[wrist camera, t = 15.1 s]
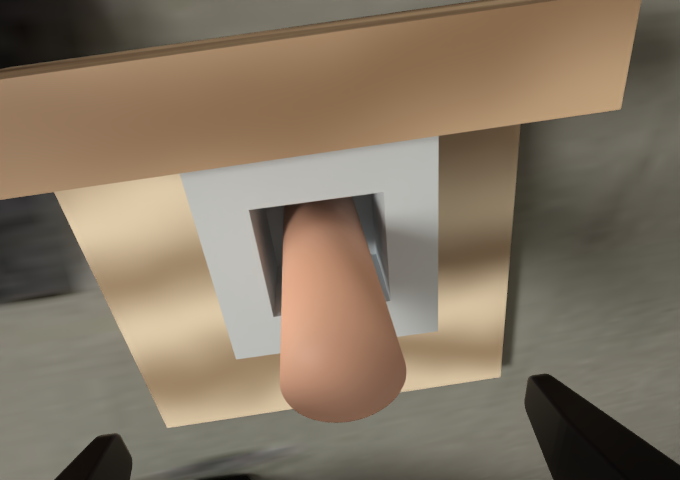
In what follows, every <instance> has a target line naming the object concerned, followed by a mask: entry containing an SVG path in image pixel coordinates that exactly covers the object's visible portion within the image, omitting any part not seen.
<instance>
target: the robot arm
mask: <svg viewBox="0 0 680 480" xmlns="http://www.w3.org/2000/svg"><path fill="white" fill-rule="evenodd" d="M525 409H526V412H527V415H528V417H529V420H530V422H531V425H532V427H533V430H534V433H535V435H536V438H537V440H538V443H539V445H540V448H541V450H542V453H543V455H544V458H545V460H546V463H547V465H548V468H549V470H550V473H551V475H552V477H553V480H680V465H679V464H678V463H676V462H675V461H673V460H672V459H670V458H669V457H668V456H666V455H665V454H663V453H662V452H660V451H659V450H657V449H656V448H655V447H653V446H652V445H650V444H649V443H647V442H646V441H645V440H643V439H642V438H640V437H639V436H637V435H636V434H635V433H633V432H632V431H630V430H629V429H627V428H626V427H624V426H623V425H622V424H620V423H619V422H617V421H616V420H614V419H613V418H612V417H610V416H609V415H607V414H606V413H604V412H603V411H601V410H600V409H599V408H597V407H596V406H594V405H593V404H591V403H590V402H589V401H587V400H586V399H584V398H583V397H581V396H580V395H579V394H577V393H576V392H574V391H573V390H571V389H570V388H568V387H567V386H566V385H564V384H563V383H561V382H560V381H558V380H557V379H556V378H554V377H553V376H551V375H549V374H539V375H532V376H530V377H529V378H528V381H527V388H526V394H525ZM131 471H132V457H131V455H130V453H129V451H128V449H127V447H126V445H125V443H124V441H123V439H122V438H121V436H120V435H119V434H117V433H113V434H106V435H100V436H98V437H96V438H95V439H94V440H93V441H92V442H91V443H90V444H89V445H88V446H87V447H86V448H85V449H84V450H83V451H82V452H81V453H80V454H79V455H78V456H77V457H76V458H75V459H74V460H73V461H72V462H71V463H70V464H69V465H68V466H67V467H66V468H65V469H64V470H63V471H62V472H61V473H60V474H59V475H58V476H57V477H56V479H55V480H130V476H131ZM223 480H250V478H248V477H236V478H230V479H223Z"/></svg>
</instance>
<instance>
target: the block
mask: <svg viewBox="0 0 680 480" xmlns="http://www.w3.org/2000/svg"><path fill="white" fill-rule="evenodd" d="M438 167H439V136H434V137H427V138H420V139H414V140H407V141H400V142H393V143H386V144H379V145H372V146H365V147H359V148H352V149H345V150H338V151H331V152H324V153H317V154H311V155H304V156H297V157H290V158H283V159H276V160H269V161H263V162H256V163H249V164H242V165H235V166H228V167H221V168H214V169H208V170H201V171H194V172H187V173H180V177H181V180H182V183H183V187H184V190H185V193H186V196H187V200H188V203H189V206H190V210H191V213H192V216H193V219H194V223H195V226H196V229H197V233H198V236H199V239H200V242H201V246H202V249H203V252H204V256H205V259H206V262H207V265H208V269H209V272H210V275H211V279H212V282H213V285H214V289H215V292H216V295H217V298H218V302H219V305H220V308H221V312H222V315H223V318H224V321H225V325H226V328H227V331H228V335H229V338H230V341H231V344H232V348H233V351H234V354H235V358H236V359H243V358H250V357H257V356H265V355H272V354H279V353H280V347H281V305H282V262H283V219H284V206H285V205H290V204H298V203H305V202H313V201H320V200H328V199H336V198H343V197H352V199H353V201H354V204H355V207H356V210H357V213H358V216H359V219H360V222H361V226H362V229H363V232H364V235H365V238H366V241H367V244H368V247H369V251H370V254H371V257H372V260H373V263H374V266H375V269H376V272H377V276H378V279H379V282H380V285H381V288H382V291H383V294H384V297H385V301H386V304H387V307H388V310H389V313H390V316H391V319H392V322H393V326H394V329H395V332H396V335H397V337H400V336H408V335H415V334H422V333H429V332H436V331H438Z"/></svg>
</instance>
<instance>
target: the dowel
mask: <svg viewBox="0 0 680 480" xmlns="http://www.w3.org/2000/svg"><path fill="white" fill-rule="evenodd" d="M405 380H406V363H405V360H404V357H403V354H402V351H401V347H400V344H399V341H398V338H397V335H396V332H395V329H394V326H393V322H392V319H391V316H390V313H389V310H388V307H387V304H386V301H385V297H384V294H383V291H382V288H381V285H380V282H379V279H378V276H377V272H376V269H375V266H374V263H373V260H372V257H371V254H370V251H369V247H368V244H367V241H366V238H365V235H364V232H363V229H362V226H361V222H360V219H359V216H358V213H357V210H356V207H355V204H354V201H353V199H352V197H343V198H336V199H328V200H320V201H313V202H305V203H298V204H290V205H285V206H284V219H283V262H282V305H281V347H280V389H281V393H282V395H283V397H284V399H285V400H286V402H287V403H288V404H289V405H290V407H292V408H293V409H294V410H295V411H297V412H298V413H300V414H301V415H303V416H306V417H308V418H311V419H314V420H318V421H322V422H333V423H339V422H349V421H355V420H359V419H362V418H365V417H368V416H370V415H373V414H375V413H377V412H379V411H380V410H382V409H383V408H385V407H386V406H388V405H389V404H390V403H391V402H392V401H393V400H394V399H395V398H396V397H397V396H398V394H399V393H400V391H401V390H402V388H403V386H404V383H405Z"/></svg>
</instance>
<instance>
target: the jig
mask: <svg viewBox="0 0 680 480" xmlns="http://www.w3.org/2000/svg"><path fill="white" fill-rule="evenodd" d="M640 5H641V0H480V1H473V2H466V3H459V4H452V5H445V6H438V7H431V8H424V9H417V10H409V11H402V12H395V13H388V14H381V15H374V16H367V17H360V18H353V19H346V20H339V21H332V22H325V23H318V24H311V25H304V26H297V27H289V28H282V29H275V30H268V31H261V32H254V33H247V34H240V35H233V36H226V37H219V38H212V39H205V40H198V41H191V42H184V43H177V44H169V45H162V46H155V47H148V48H141V49H134V50H127V51H120V52H113V53H106V54H99V55H92V56H85V57H78V58H71V59H64V60H57V61H49V62H42V63H35V64H28V65H21V66H14V67H9V68H4V69H0V200H2V199H8V198H15V197H22V196H29V195H36V194H43V193H50V192H54V193H55V195H56V197H57V199H58V201H59V203H60V205H61V207H62V210H63V212H64V214H65V216H66V218H67V220H68V222H69V224H70V226H71V228H72V230H73V232H74V234H75V237H76V239H77V241H78V243H79V245H80V247H81V249H82V251H83V253H84V255H85V257H86V259H87V262H88V264H89V266H90V268H91V270H92V272H93V274H94V276H95V278H96V280H97V282H98V284H99V287H100V289H101V291H102V293H103V295H104V297H105V299H106V301H107V303H108V305H109V307H110V309H111V311H112V314H113V316H114V318H115V320H116V322H117V324H118V326H119V328H120V330H121V332H122V334H123V336H124V339H125V341H126V343H127V345H128V347H129V349H130V351H131V353H132V355H133V357H134V359H135V361H136V363H137V366H138V368H139V370H140V372H141V374H142V376H143V378H144V380H145V382H146V384H147V386H148V388H149V391H150V393H151V395H152V397H153V399H154V401H155V403H156V405H157V407H158V409H159V411H160V413H161V416H162V418H163V420H164V422H165V424H166V426H167V428H171V427H177V426H184V425H190V424H197V423H203V422H210V421H216V420H223V419H229V418H236V417H242V416H249V415H255V414H262V413H268V412H275V411H282V410H288V409H293V408H292V407H290V405H289V404H288V403H287V402H286V400H285V399H284V397H283V395H282V393H281V389H280V353H279V354H272V355H265V356H257V357H250V358H243V359H236V358H235V354H234V351H233V348H232V344H231V341H230V338H229V335H228V331H227V328H226V325H225V321H224V318H223V315H222V312H221V308H220V305H219V302H218V298H217V295H216V292H215V289H214V285H213V282H212V279H211V275H210V272H209V269H208V265H207V262H206V259H205V256H204V252H203V249H202V246H201V242H200V239H199V236H198V233H197V229H196V226H195V223H194V219H193V216H192V213H191V210H190V206H189V203H188V200H187V196H186V193H185V190H184V187H183V183H182V180H181V177H180V173H187V172H194V171H201V170H208V169H214V168H221V167H228V166H235V165H242V164H249V163H256V162H263V161H269V160H276V159H283V158H290V157H297V156H304V155H311V154H317V153H324V152H331V151H338V150H345V149H352V148H359V147H365V146H372V145H379V144H386V143H393V142H400V141H407V140H414V139H420V138H427V137H434V136H439V167H438V331H436V332H429V333H422V334H415V335H408V336H400V337H397V338H398V341H399V344H400V347H401V351H402V354H403V357H404V360H405V363H406V380H405V383H404V386H403V388H402V390H401V391H400V392H405V391H412V390H418V389H425V388H431V387H438V386H444V385H451V384H458V383H464V382H471V381H477V380H484V379H490V378H497V377H500V375H501V362H502V350H503V337H504V325H505V312H506V300H507V287H508V275H509V262H510V250H511V237H512V225H513V213H514V200H515V188H516V175H517V163H518V150H519V138H520V125H521V124H523V123H530V122H537V121H544V120H551V119H558V118H565V117H571V116H578V115H585V114H592V113H599V112H606V111H613V110H619V109H621V105H622V100H623V95H624V89H625V84H626V79H627V73H628V68H629V63H630V58H631V52H632V47H633V42H634V37H635V31H636V26H637V21H638V15H639V10H640Z"/></svg>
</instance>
